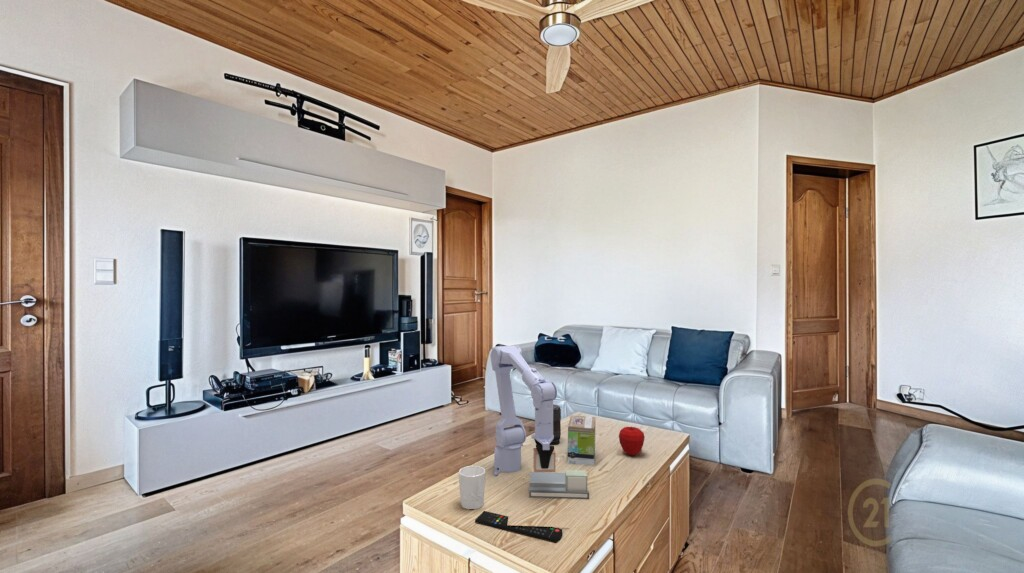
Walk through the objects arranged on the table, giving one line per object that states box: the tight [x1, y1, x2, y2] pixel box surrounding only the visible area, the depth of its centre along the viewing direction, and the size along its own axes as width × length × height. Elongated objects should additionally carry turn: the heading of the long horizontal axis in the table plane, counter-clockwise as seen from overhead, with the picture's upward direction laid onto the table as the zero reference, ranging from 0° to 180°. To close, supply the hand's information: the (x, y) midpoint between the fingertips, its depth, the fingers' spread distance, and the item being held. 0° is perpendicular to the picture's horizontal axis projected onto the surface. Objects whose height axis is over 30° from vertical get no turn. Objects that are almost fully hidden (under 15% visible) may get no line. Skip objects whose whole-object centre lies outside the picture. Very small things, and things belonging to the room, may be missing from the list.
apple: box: [618, 426, 646, 457], centre depth 169 cm, size 10×10×11 cm
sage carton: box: [564, 469, 588, 492], centre depth 135 cm, size 6×4×6 cm, turn 86°
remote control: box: [474, 510, 563, 544], centre depth 117 cm, size 5×24×1 cm, turn 66°
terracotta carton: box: [532, 447, 556, 473], centre depth 136 cm, size 6×4×6 cm, turn 92°
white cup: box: [458, 465, 486, 510], centre depth 130 cm, size 8×8×10 cm
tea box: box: [566, 415, 596, 466], centre depth 164 cm, size 15×10×15 cm, turn 168°
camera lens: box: [550, 403, 562, 446], centre depth 182 cm, size 8×8×15 cm
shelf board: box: [528, 471, 590, 500], centre depth 140 cm, size 18×18×3 cm
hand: (544, 464), depth 136 cm, fingers closed on terracotta carton, 4 cm apart
